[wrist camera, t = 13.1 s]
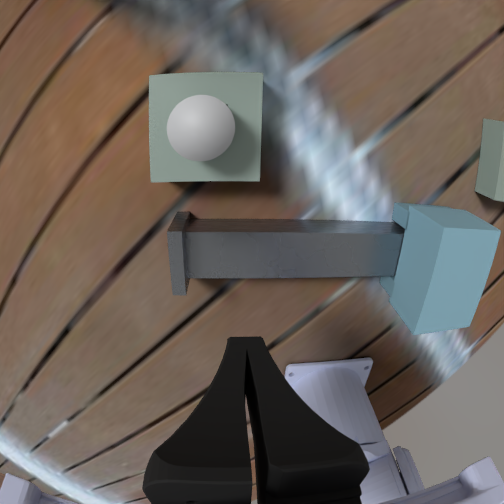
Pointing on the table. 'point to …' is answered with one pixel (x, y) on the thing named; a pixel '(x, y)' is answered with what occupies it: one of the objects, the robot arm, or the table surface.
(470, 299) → the block
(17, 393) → the table surface
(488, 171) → the green square holed block
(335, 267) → the rail
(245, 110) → the green block white knob
